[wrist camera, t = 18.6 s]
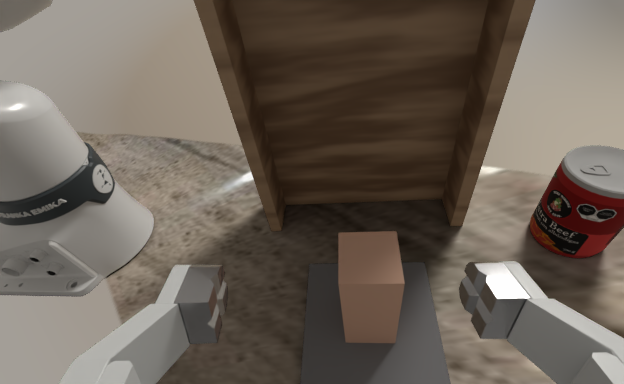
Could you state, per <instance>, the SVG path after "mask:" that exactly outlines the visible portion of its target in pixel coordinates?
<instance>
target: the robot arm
mask: <svg viewBox="0 0 624 384" xmlns="http://www.w3.org/2000/svg"><path fill="white" fill-rule="evenodd" d="M52 1H53V0H0V32H3V31H6V30H9V29H12V28H14V27H15V26H17V25H19V24H21V23H22V22H24V21H26V20H28V19H30V18H31V17H33V16H34V15H36V14H38V13H39V12H41V11H42V10H44V9H45V8H47V7H49V6H50V5H51V4H52ZM153 225H154V219H153V215H152V213H151V212H150V210H149V209H148V208H146V207H145V206H143V205H142V204H140V203H139V202H138V201H137V200H135V199H134V198H133V197H132V196H131V195H129V194H128V193H127V192H126V191H125V190H124V189H123V188H122V187H121V186H120V185H119V184H118V183H117V182H116V181H115V180H114V179H113V177H112V175H111V173H110V171H109V170H108V168H107V166H106V165H105V163H104V162H103V161H102V159H101V158H100V157H99V155H98V154H97V153H96V152H95V151H94V149H93V148H92V147H91V146H90V145H89V144H88V143H85V142H83V141H82V139H81V138H80V137H79V135H78V134H77V133H76V131H75V130H74V129H73V128H72V126H71V125H70V124H69V122H68V121H67V120H66V118H65V117H64V116H63V115H62V113H61V112H60V110H59V109H58V108H57V107H56V105H55V104H54V103H53V101H52V100H51V99H50V98H49V97H48V96H47V95H46V94H44V93H43V92H41V91H40V90H38V89H36V88H34V87H31V86H28V85H25V84H22V83H17V82H9V81H0V295H30V296H31V295H32V296H83V295H86V294H88V293H89V292H90V291H92V290H93V289H94V288H95V287H96V286H97V285H98V284H99V283H100V282H101V281H102V280H103V279H104V278H105V277H106V276H108V275H109V274H111V273H112V272H114V271H115V270H117V269H119V268H120V267H122V266H123V265H125V264H126V263H127V262H128V261H130V260H131V259H132V258H133V257H134V256H135V255H136V254H137V253H138V252H139V251H140V250H141V249H142V248H143V246H144V245H145V244H146V242H147V241H148V239H149V237H150V235H151V233H152V230H153ZM465 273H466V274H467V277H465V278H464V279H463V280H462V281H461V283H460V287H459V294H460V299H461V303H462V305H463V307H464V309H465V310H467V311H468V312H469V313H471V314H472V318H471V322H472V324H473V326H474V328H475V329H476V331H477V333H478V335H479V337H480V339H507V341H508V342H510V343H511V344H512V345H513V346H514V347H515V348H517V349H518V350H519V351H520V352H521V353H522V354H523V355H525V356H526V357H527V358H528V359H529V360H530V361H532V362H533V363H534V364H535V365H536V366H537V367H539V368H540V369H541V370H542V371H543V372H544V373H545V374H547V375H548V376H549V377H550V378H551V379H552V380H554V381H555V382H556V383H557V384H624V338H622V337H620V336H618V335H617V334H615V333H613V332H611V331H610V330H608V329H606V328H604V327H603V326H601V325H599V324H597V323H595V322H594V321H592V320H590V319H588V318H587V317H585V316H583V315H581V314H580V313H578V312H576V311H574V310H573V309H571V308H569V307H567V306H566V305H564V304H562V303H560V302H558V301H557V300H555V299H549V298H548V297H547V296H546V295H545V294H544V293H543V291H542V290H541V289H540V288H539V287H538V285H537V284H536V283H535V282H534V281H533V279H532V278H531V277H530V276H529V275H528V273H527V272H526V271H525V270H524V269H523V267H522V266H521V265H520V264H519V263H517V262H516V261H500V262H469V263H468V264H467V265H466V268H465ZM224 275H225V272H224V267H223V266H222V265H175V266H174V267H173V268H172V270H171V272H170V274H169V276H168V278H167V280H166V282H165V284H164V286H163V288H162V290H161V292H160V294H159V296H158V298H157V300H156V302H155V304H149V305H148V306H147V307H145V308H144V309H142V310H141V311H140V312H138V313H137V314H136V315H134V316H133V317H132V318H130V319H129V320H128V321H126V322H125V323H123V324H122V325H121V326H119V327H118V328H117V329H116V330H114V331H113V332H111V333H110V334H109V335H107V336H106V337H104V338H103V339H102V340H100V341H99V342H98V343H96V344H95V345H94V346H92V347H91V348H90V349H88V350H87V351H85V352H84V353H83V354H81V355H80V356H79V357H77V358H76V359H75V360H74V361H73V362H72V364H71V365H70V367H69V368H68V370H67V371H66V373H65V374H64V376H63V377H62V379H61V381H60V382H59V384H156V383H157V382H158V381H159V380H160V379H161V377H162V376H163V375H164V374H165V373H166V372H167V371H168V370H169V368H170V367H171V366H172V365H173V364H174V363H175V362H176V361H177V360H178V358H179V357H180V356H181V355H182V354H183V353H184V352H185V351H186V349H187V348H188V347H189V346H190V344H202V343H217V342H218V338H219V334H220V330H221V327H222V321H221V316H222V315H223V314H224V313H225V311H226V307H227V299H228V289H227V284H226V283H225V282H224V281H223V279H224Z"/></svg>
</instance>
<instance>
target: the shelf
mask: <svg viewBox="0 0 624 384" xmlns="http://www.w3.org/2000/svg"><path fill="white" fill-rule="evenodd" d="M194 3H195V6H196V8H197V11H198V14H199V17H200V20H201V23H202V26H203V29H204V32H205V35H206V38H207V41H208V44H209V47H210V50H211V53H212V56H213V59H214V62H215V65H216V68H217V71H218V74H219V77H220V80H221V83H222V86H223V89H224V92H225V95H226V98H227V100H228V104H229V107H230V110H231V113H232V115H233V119H234V122H235V124H236V128H237V131H238V133H239V136H240V139H241V142H242V145H243V148H244V151H245V154H246V157H247V160H248V163H249V166H250V169H251V172H252V175H253V178H254V181H255V184H256V187H257V190H258V193H259V196H260V199H261V202H262V205H263V208H264V211H265V214H266V217H267V220H268V223H269V226H270V229H271V231H282V225H283V219H284V213H285V206H286V205H300V204H327V203H353V202H379V201H405V200H431V199H442V201H443V204H444V207H445V210H446V214H447V217H448V220H449V223H450V226H462V225H463V222H464V219H465V216H466V213H467V210H468V206H469V203H470V200H471V197H472V194H473V191H474V188H475V185H476V182H477V179H478V176H479V173H480V170H481V166H482V163H483V160H484V157H485V154H486V151H487V148H488V145H489V142H490V139H491V136H492V132H493V130H494V126H495V123H496V120H497V117H498V114H499V111H500V108H501V105H502V102H503V99H504V95H505V93H506V90H507V86H508V83H509V80H510V77H511V74H512V71H513V68H514V65H515V62H516V59H517V55H518V53H519V49H520V46H521V43H522V40H523V37H524V34H525V31H526V28H527V25H528V22H529V19H530V16H531V13H532V10H533V6H534V3H535V0H194Z"/></svg>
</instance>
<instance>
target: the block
mask: <svg viewBox="0 0 624 384" xmlns="http://www.w3.org/2000/svg"><path fill="white" fill-rule="evenodd" d="M338 285H339V293H340V301H341V309H342V317H343V325H344V333H345V341H346V343H395V341H396V335H397V329H398V322H399V316H400V310H401V304H402V297H403V291H404V285H405V282H404V276H403V270H402V263H401V257H400V251H399V244H398V238H397V231H379V232H343V233H338Z"/></svg>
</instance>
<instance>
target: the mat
mask: <svg viewBox="0 0 624 384" xmlns="http://www.w3.org/2000/svg"><path fill="white" fill-rule="evenodd" d="M401 263H402V270H403V276H404V282H405V285H404V291H403V297H402V304H401V310H400V316H399V322H398V329H397V335H396V341H395V343H346V341H345V333H344V325H343V317H342V309H341V301H340V293H339V285H338V263H330V264H309V275H308V289H307V302H306V315H305V328H304V341H303V355H302V368H301V381H300V384H451V383H450V379H449V374H448V369H447V365H446V360H445V355H444V351H443V346H442V341H441V337H440V332H439V327H438V323H437V318H436V313H435V309H434V304H433V299H432V295H431V290H430V285H429V281H428V276H427V272H426V267H425V262H401Z"/></svg>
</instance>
